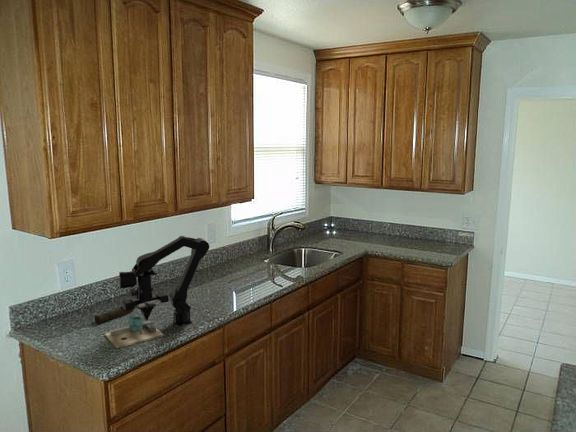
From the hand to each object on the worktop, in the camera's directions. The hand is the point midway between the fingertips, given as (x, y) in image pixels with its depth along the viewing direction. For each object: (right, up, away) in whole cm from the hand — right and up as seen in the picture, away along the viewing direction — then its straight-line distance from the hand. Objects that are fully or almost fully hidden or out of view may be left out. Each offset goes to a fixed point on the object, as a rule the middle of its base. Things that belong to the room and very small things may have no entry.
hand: (146, 320), depth 194 cm
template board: (-3, -5, -7) cm, 9 cm away
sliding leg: (-2, -3, -4) cm, 6 cm away
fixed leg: (+3, -3, -2) cm, 5 cm away
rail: (-5, -4, -4) cm, 8 cm away
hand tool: (-18, -2, +13) cm, 23 cm away
